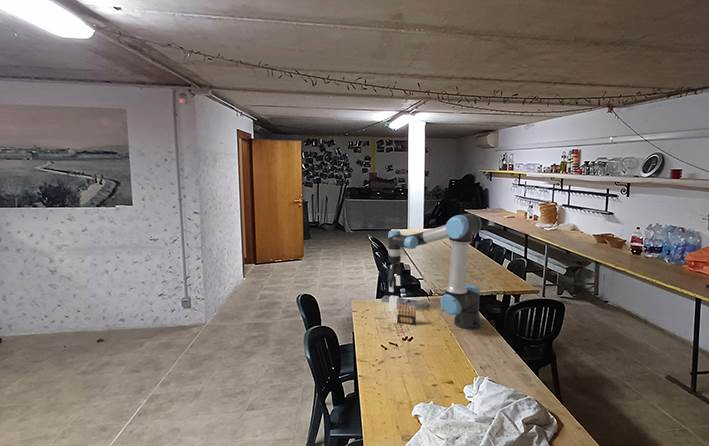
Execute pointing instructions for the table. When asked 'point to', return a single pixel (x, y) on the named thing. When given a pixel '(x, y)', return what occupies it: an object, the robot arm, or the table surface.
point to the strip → (408, 302)
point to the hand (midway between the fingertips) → (394, 288)
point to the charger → (393, 302)
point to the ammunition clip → (406, 315)
